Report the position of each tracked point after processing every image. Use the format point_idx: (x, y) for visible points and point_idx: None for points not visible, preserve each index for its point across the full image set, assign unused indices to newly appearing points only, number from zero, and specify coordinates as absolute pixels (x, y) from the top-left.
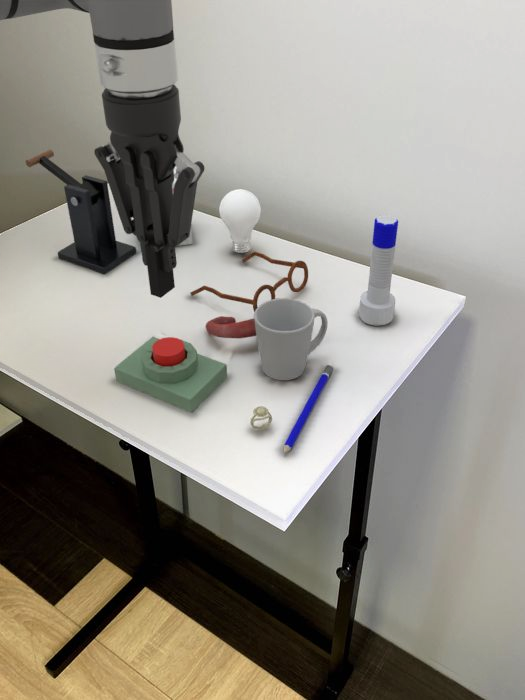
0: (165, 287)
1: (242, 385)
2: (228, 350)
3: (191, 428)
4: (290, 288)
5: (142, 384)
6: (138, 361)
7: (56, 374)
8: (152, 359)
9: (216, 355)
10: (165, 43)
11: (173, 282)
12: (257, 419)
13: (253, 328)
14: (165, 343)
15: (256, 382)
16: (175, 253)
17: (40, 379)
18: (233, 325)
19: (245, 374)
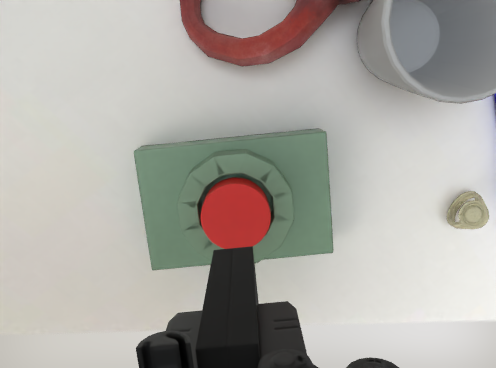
0: (257, 297)
1: (358, 129)
2: None
3: (350, 267)
4: None
5: None
6: (174, 229)
7: (57, 305)
8: None
9: (257, 85)
10: None
11: (253, 257)
12: (472, 228)
13: (325, 16)
14: (222, 213)
15: (375, 105)
16: (301, 334)
17: (48, 329)
18: (284, 42)
19: (343, 98)
